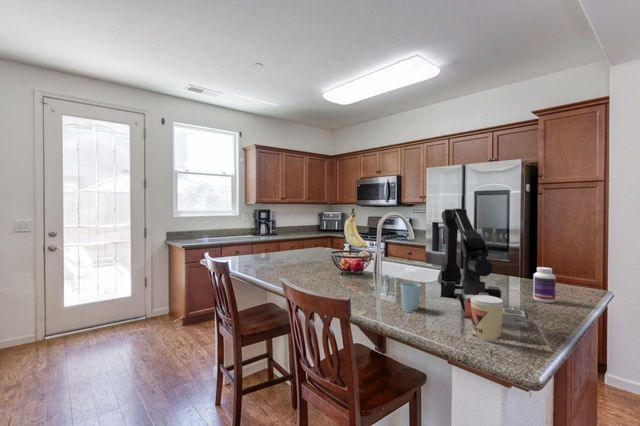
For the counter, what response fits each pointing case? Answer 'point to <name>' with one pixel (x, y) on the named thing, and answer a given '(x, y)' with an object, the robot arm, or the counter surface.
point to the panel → (511, 317)
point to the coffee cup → (486, 317)
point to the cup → (410, 296)
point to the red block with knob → (468, 307)
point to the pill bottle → (544, 285)
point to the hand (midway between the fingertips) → (471, 312)
